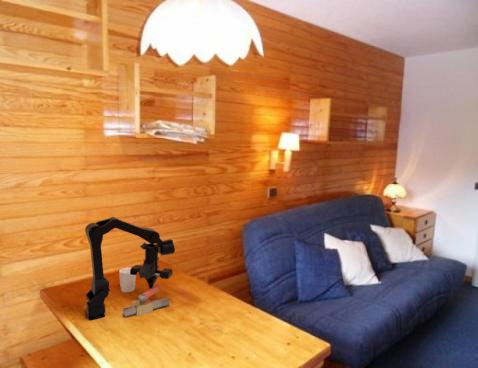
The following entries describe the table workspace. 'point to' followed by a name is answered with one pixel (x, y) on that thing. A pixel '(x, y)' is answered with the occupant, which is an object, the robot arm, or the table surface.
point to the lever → (149, 293)
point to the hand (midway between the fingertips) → (151, 289)
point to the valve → (145, 307)
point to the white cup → (126, 280)
